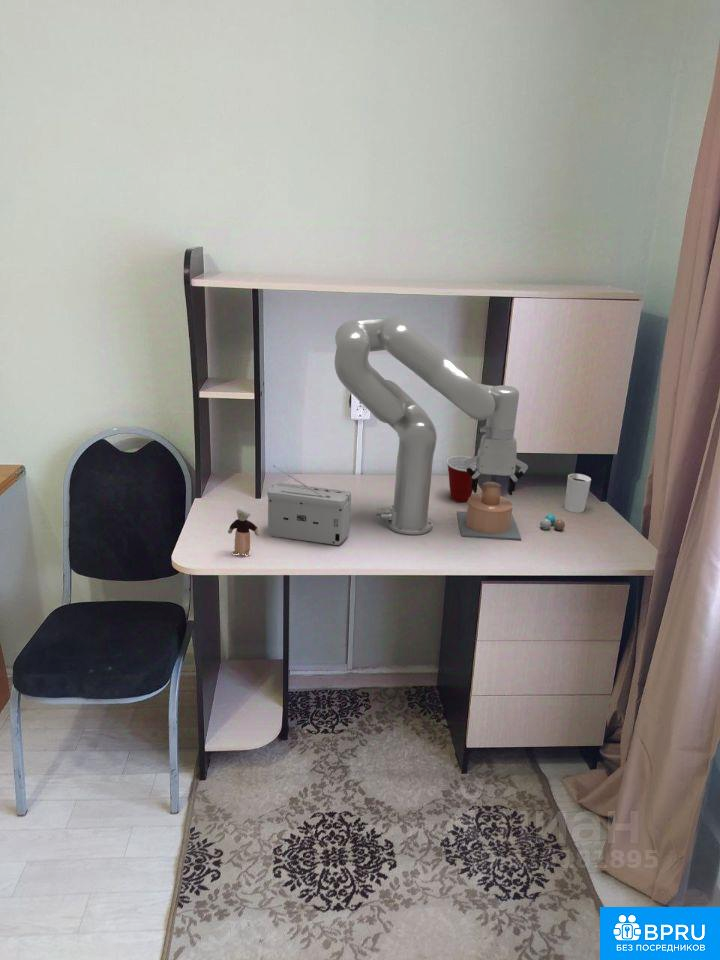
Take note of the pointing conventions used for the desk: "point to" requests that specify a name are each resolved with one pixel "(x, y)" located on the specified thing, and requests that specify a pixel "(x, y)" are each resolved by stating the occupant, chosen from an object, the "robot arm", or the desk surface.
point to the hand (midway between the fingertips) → (492, 492)
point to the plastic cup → (459, 478)
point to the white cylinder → (577, 492)
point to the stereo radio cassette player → (308, 512)
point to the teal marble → (551, 518)
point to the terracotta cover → (489, 510)
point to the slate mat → (468, 532)
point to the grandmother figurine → (242, 531)
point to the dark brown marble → (559, 524)
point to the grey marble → (545, 523)
